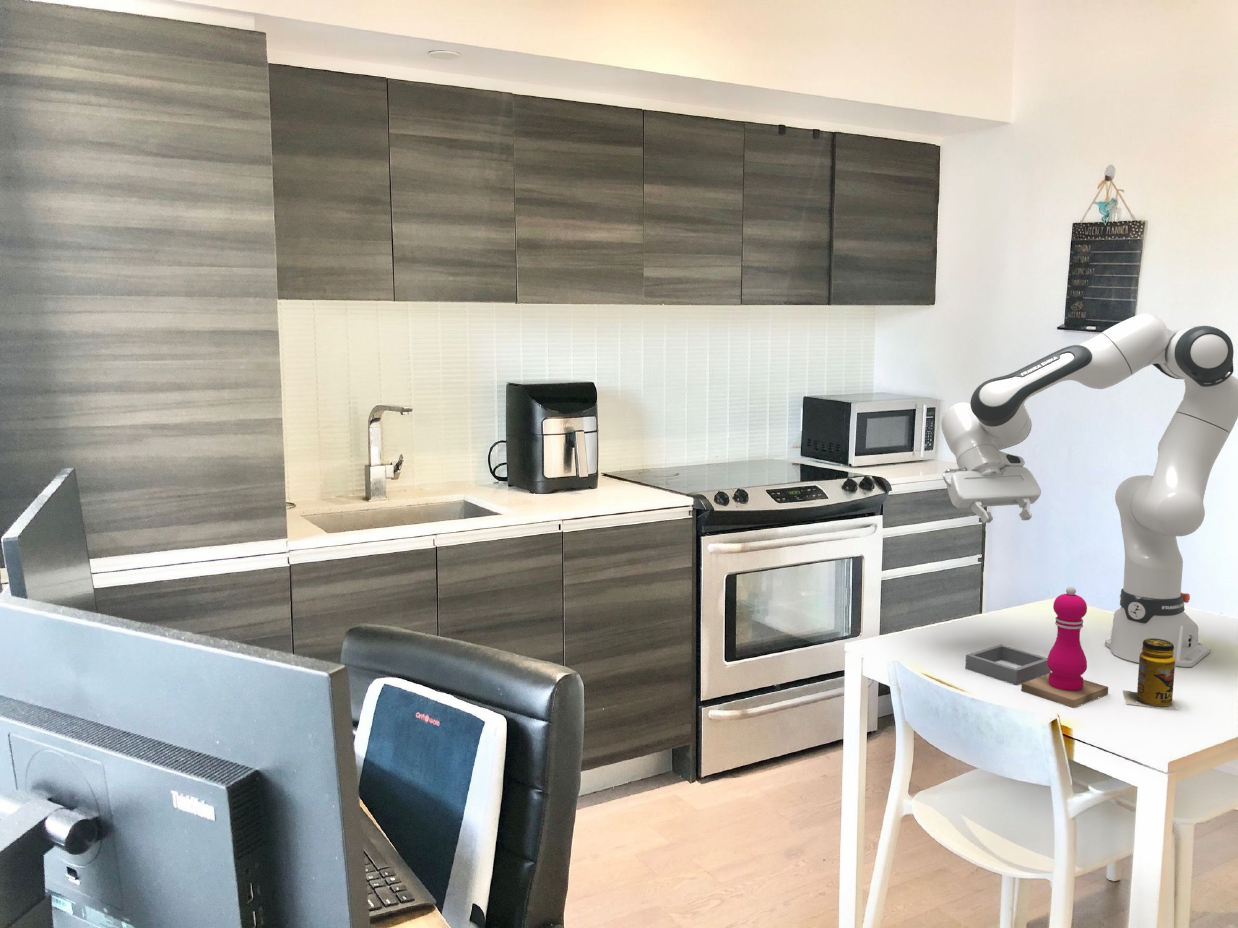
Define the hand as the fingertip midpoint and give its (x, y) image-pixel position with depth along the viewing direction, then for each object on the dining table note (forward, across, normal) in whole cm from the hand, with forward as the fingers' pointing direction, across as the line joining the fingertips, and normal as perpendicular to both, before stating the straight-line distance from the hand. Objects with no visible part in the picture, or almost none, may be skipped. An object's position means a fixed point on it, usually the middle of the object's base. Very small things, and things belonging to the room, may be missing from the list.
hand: (1008, 520), depth 209 cm
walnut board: (+35, +2, +10) cm, 36 cm away
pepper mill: (+34, +2, +8) cm, 35 cm away
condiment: (+41, +14, +4) cm, 43 cm away
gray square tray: (+25, -1, +19) cm, 32 cm away
